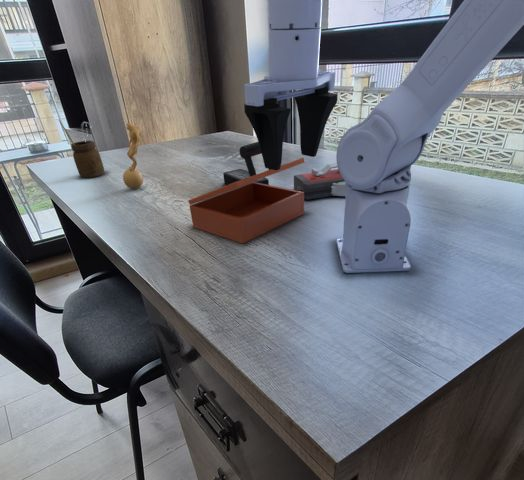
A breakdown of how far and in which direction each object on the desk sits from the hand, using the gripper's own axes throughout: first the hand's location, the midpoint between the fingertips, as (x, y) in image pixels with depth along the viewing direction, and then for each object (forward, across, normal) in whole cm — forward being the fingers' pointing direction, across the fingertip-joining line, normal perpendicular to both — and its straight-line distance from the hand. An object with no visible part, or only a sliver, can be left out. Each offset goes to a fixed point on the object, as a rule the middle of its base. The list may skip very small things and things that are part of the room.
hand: (291, 161), depth 51 cm
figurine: (+12, -1, -42) cm, 44 cm away
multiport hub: (+11, -13, -22) cm, 28 cm away
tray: (+10, 0, -9) cm, 14 cm away
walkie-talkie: (+10, -21, -4) cm, 24 cm away
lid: (+5, 0, -9) cm, 10 cm away
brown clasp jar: (+14, -1, -63) cm, 64 cm away
